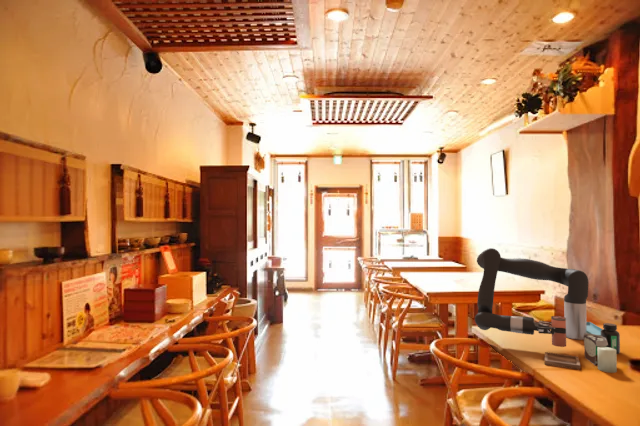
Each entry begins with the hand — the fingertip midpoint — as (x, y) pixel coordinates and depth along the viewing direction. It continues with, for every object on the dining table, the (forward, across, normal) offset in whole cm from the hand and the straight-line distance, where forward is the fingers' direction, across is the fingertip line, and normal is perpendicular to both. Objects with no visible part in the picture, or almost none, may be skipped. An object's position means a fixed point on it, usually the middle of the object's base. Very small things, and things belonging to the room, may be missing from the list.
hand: (565, 329), depth 177 cm
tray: (-2, -14, +10) cm, 18 cm away
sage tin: (+13, -15, +10) cm, 23 cm away
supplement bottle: (+17, +12, +11) cm, 23 cm away
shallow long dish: (+13, +47, +12) cm, 51 cm away
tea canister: (-3, 0, +7) cm, 7 cm away
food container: (+11, -6, +11) cm, 17 cm away
